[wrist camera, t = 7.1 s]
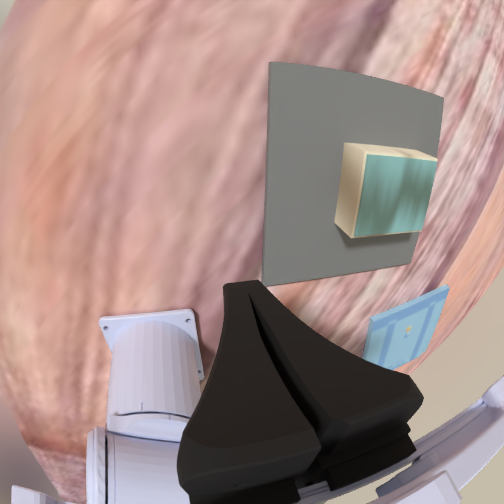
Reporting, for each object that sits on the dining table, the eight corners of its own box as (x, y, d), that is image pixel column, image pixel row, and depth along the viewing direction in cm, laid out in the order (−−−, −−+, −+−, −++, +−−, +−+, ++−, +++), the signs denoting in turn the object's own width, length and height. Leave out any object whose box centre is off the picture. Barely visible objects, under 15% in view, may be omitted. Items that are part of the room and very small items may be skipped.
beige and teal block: (334, 222, 21) (403, 217, 23) (352, 239, 19) (422, 232, 20) (344, 142, 18) (416, 149, 20) (366, 151, 16) (439, 159, 17)
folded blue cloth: (420, 348, 38) (424, 353, 37) (355, 379, 37) (359, 385, 36) (443, 281, 31) (450, 287, 30) (368, 314, 30) (374, 322, 29)
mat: (407, 260, 26) (410, 263, 26) (261, 282, 23) (263, 286, 23) (439, 96, 18) (443, 97, 18) (268, 62, 15) (271, 61, 14)
